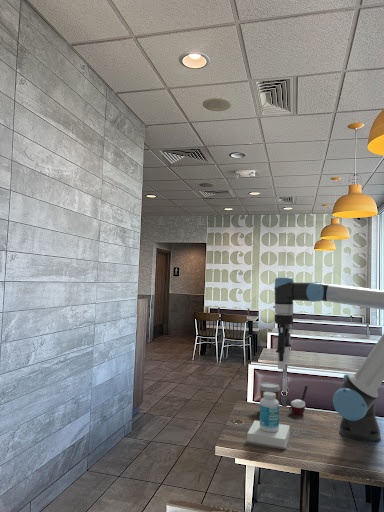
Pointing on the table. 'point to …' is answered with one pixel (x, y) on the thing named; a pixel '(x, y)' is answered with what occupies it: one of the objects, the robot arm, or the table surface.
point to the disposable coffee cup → (269, 388)
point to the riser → (269, 436)
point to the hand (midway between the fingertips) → (283, 365)
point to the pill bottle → (269, 412)
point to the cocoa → (298, 404)
